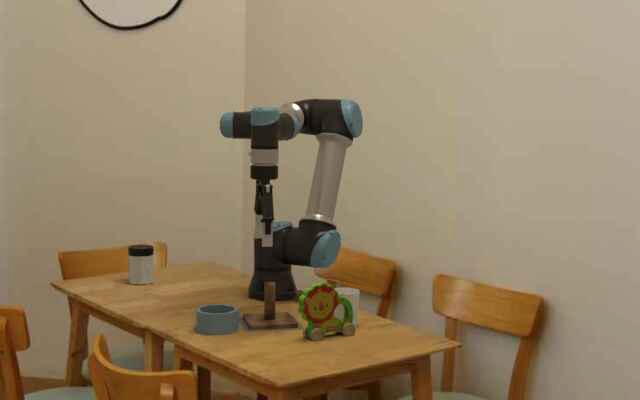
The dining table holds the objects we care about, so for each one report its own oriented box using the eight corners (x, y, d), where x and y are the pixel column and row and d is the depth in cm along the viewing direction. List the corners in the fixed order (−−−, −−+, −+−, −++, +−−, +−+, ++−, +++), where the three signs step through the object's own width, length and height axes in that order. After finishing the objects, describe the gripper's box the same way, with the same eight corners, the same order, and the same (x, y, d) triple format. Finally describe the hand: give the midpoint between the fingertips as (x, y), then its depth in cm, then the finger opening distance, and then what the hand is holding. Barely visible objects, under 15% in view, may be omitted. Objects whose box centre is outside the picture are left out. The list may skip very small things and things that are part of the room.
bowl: (234, 324, 262) (234, 303, 261) (240, 335, 252) (240, 313, 251) (194, 326, 260) (194, 305, 259) (198, 337, 249) (198, 315, 248)
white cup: (338, 331, 257) (339, 295, 256) (325, 324, 264) (325, 289, 263) (364, 328, 261) (364, 292, 260) (350, 321, 268) (350, 286, 267)
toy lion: (345, 332, 257) (346, 276, 255) (356, 337, 252) (357, 280, 250) (294, 340, 248) (294, 282, 246) (305, 345, 244) (305, 286, 242)
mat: (292, 316, 272) (292, 314, 272) (304, 330, 257) (304, 329, 257) (236, 318, 269) (236, 317, 269) (245, 333, 253) (245, 331, 253)
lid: (288, 316, 271) (288, 277, 269) (297, 327, 258) (298, 287, 257) (242, 318, 268) (242, 278, 266) (249, 330, 255) (250, 289, 254)
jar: (136, 286, 307) (136, 249, 306) (122, 282, 313) (122, 246, 312) (159, 282, 314) (159, 246, 312) (145, 278, 319) (145, 243, 318)
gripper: (244, 160, 269) (244, 234, 272) (256, 168, 245) (256, 250, 247) (271, 160, 270) (270, 234, 273) (285, 168, 246) (284, 249, 249)
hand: (263, 242), depth 260 cm, fingers open, 13 cm apart
